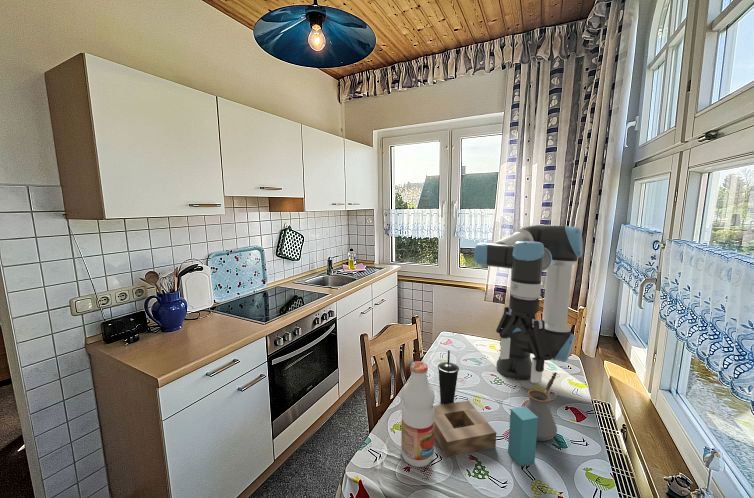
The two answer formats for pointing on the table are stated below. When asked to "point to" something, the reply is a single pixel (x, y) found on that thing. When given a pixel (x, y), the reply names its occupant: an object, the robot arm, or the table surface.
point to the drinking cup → (447, 380)
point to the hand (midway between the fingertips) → (518, 369)
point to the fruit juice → (418, 418)
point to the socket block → (462, 429)
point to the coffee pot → (542, 411)
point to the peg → (522, 435)
